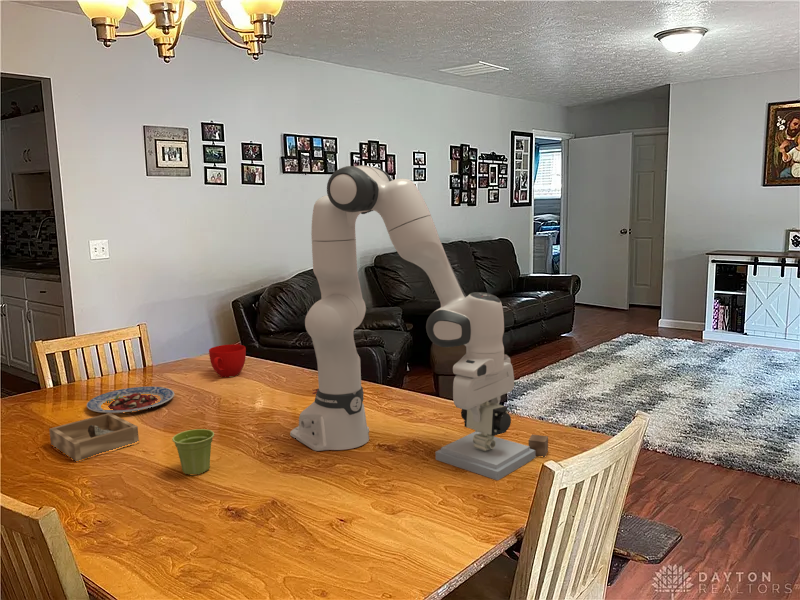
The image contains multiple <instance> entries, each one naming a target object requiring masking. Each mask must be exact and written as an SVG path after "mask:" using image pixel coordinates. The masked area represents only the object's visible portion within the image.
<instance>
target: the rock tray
mask: <svg viewBox="0 0 800 600" xmlns="http://www.w3.org/2000/svg"><path fill="white" fill-rule="evenodd" d="M90 425H93V426H94V425H95V426H98V427H99V428H100V429H101V430H110V431H113V432H110V433H106V434H103V435H99V436H96V437H92V438H91V437H90V436H89V433H88V428H89V426H90ZM48 430H49V438H50V440H49V441H50V446H51V445H53V446H54V447H56V448H57V449H59V450H60V451H62V452H63V453H65V454H66V455H68V456H69V457H71V458H72V459H73V460H75V461H79V460H82V459H85V458H88V457H91V456H93V455H96V454H99V453H102V452H106V451H109V450H113V449H116V448H119V447H122V446H125V445H128V444H132V443H135V442H137V441H139V442H140V439H139V426H137V425H136V424H134V423H131V422H129V421H128V420H126V419H123V418H121V417H120V416H118V415H115V414H114V413H103V414H101V415H97V416H91V417H89V418H85V419H81V420H78V421H73V422H69V423H65V424H61V425H58V426H54V427H51V428H49V429H48ZM54 447H53V448H54ZM57 449H56V450H57ZM60 451H59V452H60ZM63 453H62V454H63ZM66 455H65V456H66ZM69 457H68V458H69ZM72 459H71V460H72ZM73 460H72V461H73ZM75 461H74V462H75Z"/></svg>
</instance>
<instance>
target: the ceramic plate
mask: <svg viewBox="0 0 800 600" xmlns="http://www.w3.org/2000/svg"><path fill="white" fill-rule="evenodd" d="M141 394H151V395H148V396H147V395H141ZM152 394H153V395H158V396H160V398H161V400H160V402H158V403H155V401H157V400H158V399H157V398H156V397H155V396H153V395H152ZM123 396H126V397H123ZM119 397H120V398H119ZM174 397H175V392H174V390H173V389H171V388H168V387H163V386H136V387H135V386H134V387H127V388H121V389H117V390H113V391H109V392H105V393H102V394H100V395H97V396H95V397H93V398H92V399H90V400H89V401H87V403H86V408H87V409H88V410H90V411H92V412H97V413H103V414H107V413H111V414H124V413H123V412H131V413H133V412H132V411H137V412H139V411H138V410H142V411H144V410H143V409H146V410H148V408H149V409H152V408H154V407H158V406H161V405H163V404H164V403H165V404H166V403H167V402H169V401H170V400H172V399H173V398H174ZM111 399H114V400H115V401H113V400H111ZM106 401H107V403H108V401H109V403H110V402H111V401H113V402H112V403H111V404H110V405H109V406H108V407H109V408H110V409H113V410H103V409H102V408H101V405H102V404H103V403H105V402H106ZM152 403H155V404H153V405H151V404H152ZM151 407H152V408H151Z"/></svg>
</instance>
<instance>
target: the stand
mask: <svg viewBox="0 0 800 600" xmlns="http://www.w3.org/2000/svg"><path fill="white" fill-rule="evenodd" d="M475 434H480V432H476V431H475V430H474V432H471V433H469V434H467V435H464V436H463V437H461V438H459V439H456V440H454V441H452V442H450V443H447V444H445V445H444V446H441V447H440V449H438V450H436V451H435V460H436V461H438V462H442V463H445V464H448V465H451V466H453V467H456V468H459V469H463V470H466V471H468V472H472V473H474V474H478V475H480V476H484V477H487V478H489V479H492V480H496V481H499V480H501V479H502V478H504V477H506V476H508V475H509V474H511V473H512V472H515V471H516V470H518V469H520V468H521V467H524V465H526V464H528V463H529V462H532V461H533V460H535V459H536V456H535V450H533V449H530V446H529V445H527V444H522V443H519V442H515V441H512V440H508V439H504V438H500V437H498V436H494V437H495V438H494V440H495V442H496V445H495V447H494V449H490V450H487V451H482V450H480V449H477V448H475V447H474V442H473V437H474V435H475ZM534 458H535V459H534ZM532 459H533V460H532Z"/></svg>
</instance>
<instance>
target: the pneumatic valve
mask: <svg viewBox="0 0 800 600" xmlns="http://www.w3.org/2000/svg"><path fill="white" fill-rule="evenodd" d="M479 411H480V414H481V421H480V422H475V421H473V414H472V412H471V410H470V409H468V410H464V409H461V411H460V414H461V418H462V419H463V423H464V428H468V429H471V430H474V431H475V430H476V431H477V432H482V433H480V434H475V435H474V437H473V442H474V447H475V448H477V449H480V450H482V451H487V450H490V449H494V447H495V445H496V442H495V440H494V438H495V437H496V436H498V435H501V434H505V433H506V432H507V431H508V430H509V429H510V426H511V423H512V417H511V415H510V414H509V413H508V412H509V411H508V406H505V405H501V404H500V403H499V404H497V403H493V402H491V401H487V402H485V403H482V404H480V408H479Z"/></svg>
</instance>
